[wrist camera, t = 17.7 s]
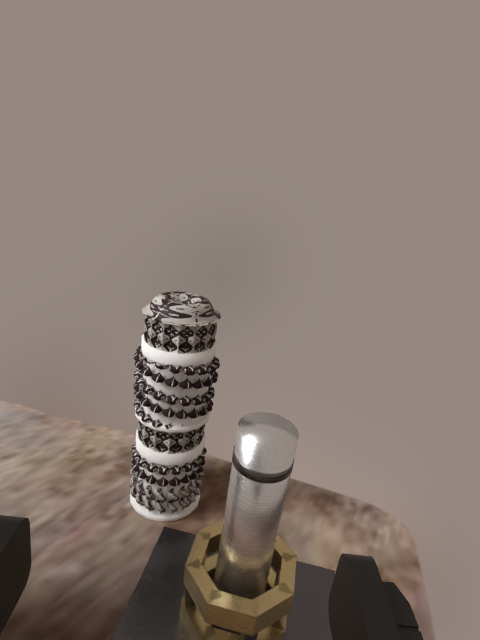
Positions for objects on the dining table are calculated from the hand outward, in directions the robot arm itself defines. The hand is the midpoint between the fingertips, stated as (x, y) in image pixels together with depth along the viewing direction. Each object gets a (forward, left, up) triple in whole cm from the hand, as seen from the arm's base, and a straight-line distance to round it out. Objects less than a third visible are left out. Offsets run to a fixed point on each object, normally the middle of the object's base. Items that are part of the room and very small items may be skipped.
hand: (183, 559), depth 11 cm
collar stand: (+1, +19, -28) cm, 34 cm away
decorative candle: (-10, +32, -28) cm, 44 cm away
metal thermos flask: (+1, +19, -26) cm, 32 cm away
